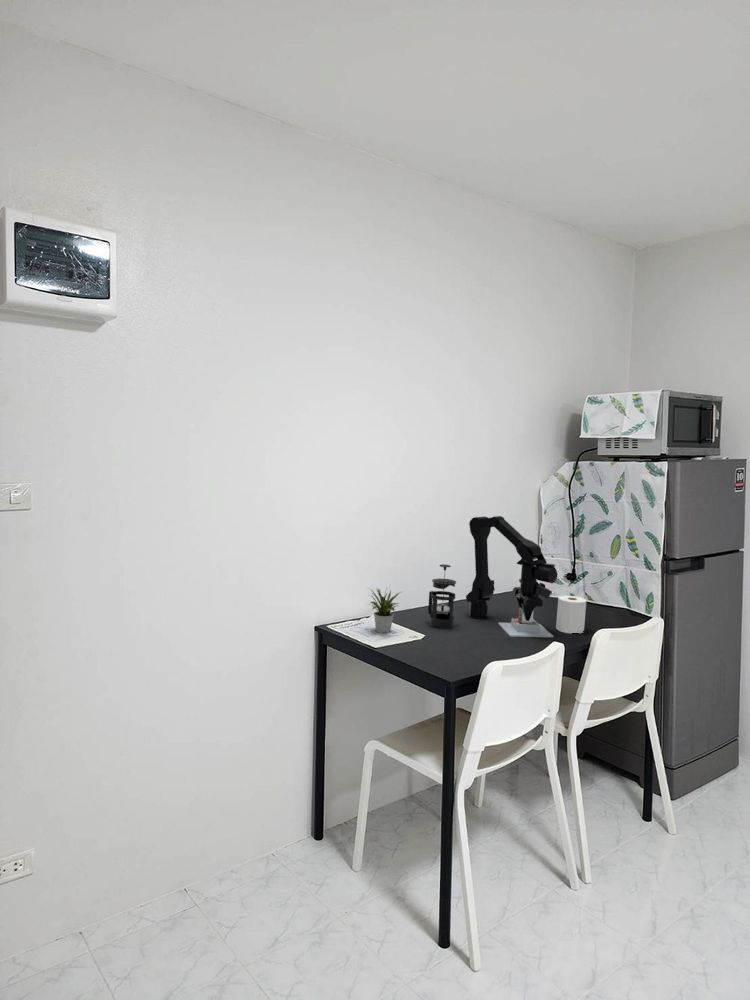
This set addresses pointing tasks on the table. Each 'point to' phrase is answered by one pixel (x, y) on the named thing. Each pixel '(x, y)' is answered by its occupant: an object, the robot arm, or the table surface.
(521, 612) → the column
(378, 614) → the house plant
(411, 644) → the table surface
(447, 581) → the french press
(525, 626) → the stand base
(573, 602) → the toilet paper
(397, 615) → the table surface
